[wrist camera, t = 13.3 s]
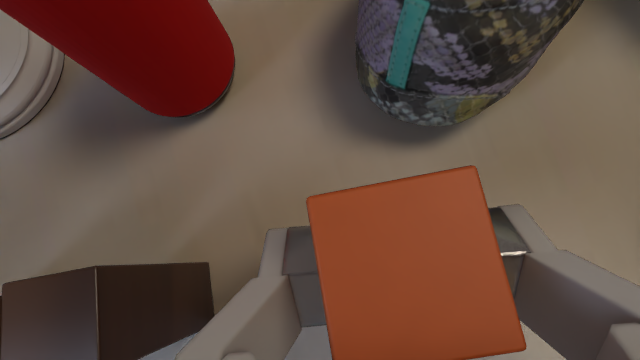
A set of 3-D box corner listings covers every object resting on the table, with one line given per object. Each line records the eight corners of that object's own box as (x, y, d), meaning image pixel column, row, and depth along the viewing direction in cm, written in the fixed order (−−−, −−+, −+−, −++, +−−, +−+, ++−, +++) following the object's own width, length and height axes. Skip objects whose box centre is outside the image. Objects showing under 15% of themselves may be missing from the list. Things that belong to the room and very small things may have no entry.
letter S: (352, 311, 13) (337, 396, 5) (337, 229, 14) (304, 196, 6) (435, 298, 13) (549, 364, 5) (415, 215, 13) (489, 161, 6)
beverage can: (211, 140, 20) (-11, -32, 8) (119, 102, 21) (-194, -99, 9) (259, 45, 20) (125, -236, 9) (168, 13, 22) (-57, -274, 10)
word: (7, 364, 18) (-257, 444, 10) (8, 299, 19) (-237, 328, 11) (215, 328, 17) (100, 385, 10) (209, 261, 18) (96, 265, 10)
